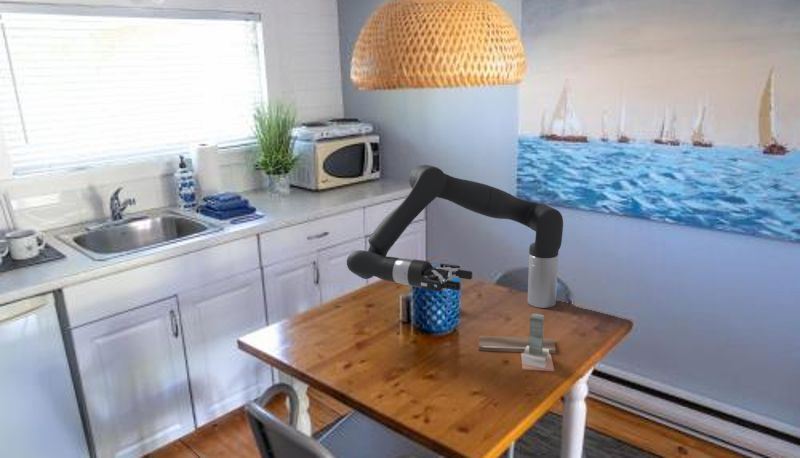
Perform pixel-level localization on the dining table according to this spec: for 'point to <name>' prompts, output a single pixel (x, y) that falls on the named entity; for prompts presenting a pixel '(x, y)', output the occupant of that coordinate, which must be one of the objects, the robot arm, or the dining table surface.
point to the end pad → (547, 368)
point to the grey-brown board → (511, 344)
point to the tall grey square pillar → (536, 344)
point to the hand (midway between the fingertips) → (466, 280)
